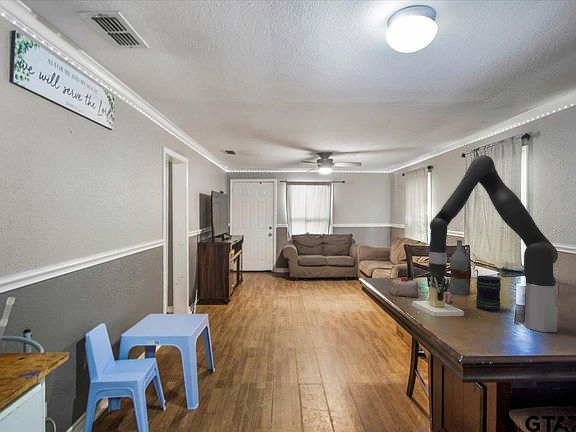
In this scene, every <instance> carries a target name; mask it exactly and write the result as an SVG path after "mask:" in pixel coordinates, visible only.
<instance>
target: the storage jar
mask: <svg viewBox="0 0 576 432" xmlns="http://www.w3.org/2000/svg"><path fill="white" fill-rule="evenodd" d="M501 280H502V279H501V277H497V276H493V275H477V276H476V282H475V283H476V296H475V299H476V300H475V303H476V304H475V305H476V307H475V308H476V309H477V310H479V311H482V312H486V313H487V312H488V313H500V311H501V306H502V305H501V296H500V295H501V287H502V285H501V284H502V282H501Z"/></svg>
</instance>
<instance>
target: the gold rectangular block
mask: <svg viewBox="0 0 576 432" xmlns="http://www.w3.org/2000/svg"><path fill="white" fill-rule="evenodd" d="M440 290H441V287H440ZM443 298H444V299H443V301H439V300H438V288H437V287H428V301H429V304H430V305H432V306H434V307H445V303H446V302H445V292H444V297H443Z"/></svg>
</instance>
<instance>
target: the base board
mask: <svg viewBox="0 0 576 432" xmlns="http://www.w3.org/2000/svg"><path fill="white" fill-rule="evenodd" d="M411 305H412V307H415V308H416V309H418V310H420V311H422V312H424V313H426V314H428V315H430V316H432V317H434V318H435V317H464V315H465V311H464V310H461V309H460V308H457V307H455V306H453V305H450V304H448V303H447V302H445V307H434V306H432V305H430V304H429V300H413V301H412V302H411Z"/></svg>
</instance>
